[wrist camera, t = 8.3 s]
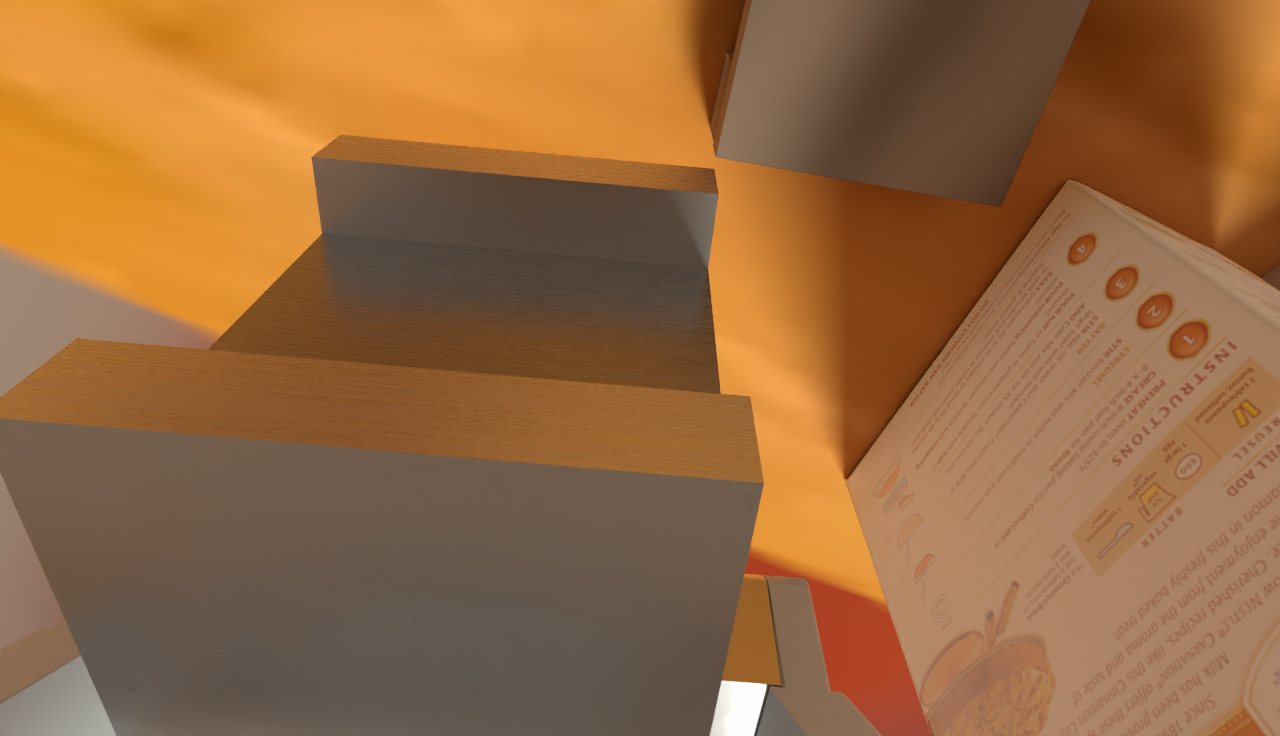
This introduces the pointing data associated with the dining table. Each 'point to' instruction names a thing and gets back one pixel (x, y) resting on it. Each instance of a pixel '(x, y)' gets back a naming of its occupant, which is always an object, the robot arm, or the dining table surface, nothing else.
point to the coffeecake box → (1090, 492)
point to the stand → (893, 89)
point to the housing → (414, 468)
